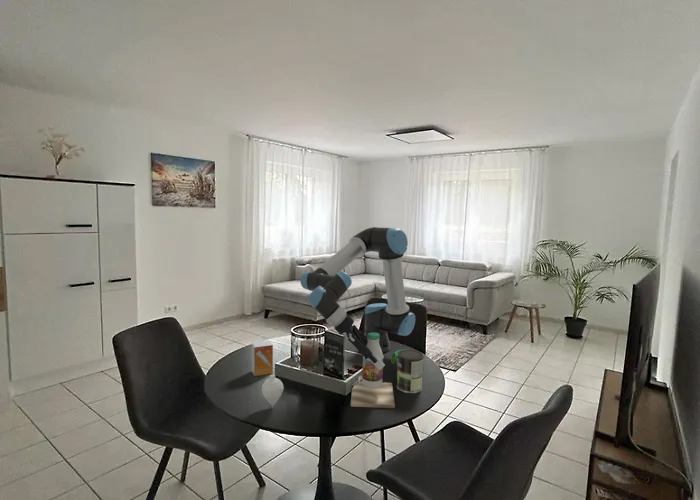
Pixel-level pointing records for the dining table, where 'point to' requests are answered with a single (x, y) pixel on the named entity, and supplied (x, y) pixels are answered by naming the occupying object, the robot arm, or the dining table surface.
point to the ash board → (373, 396)
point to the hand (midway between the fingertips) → (381, 363)
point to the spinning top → (272, 389)
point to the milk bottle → (370, 371)
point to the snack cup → (397, 357)
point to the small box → (262, 358)
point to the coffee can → (409, 371)
